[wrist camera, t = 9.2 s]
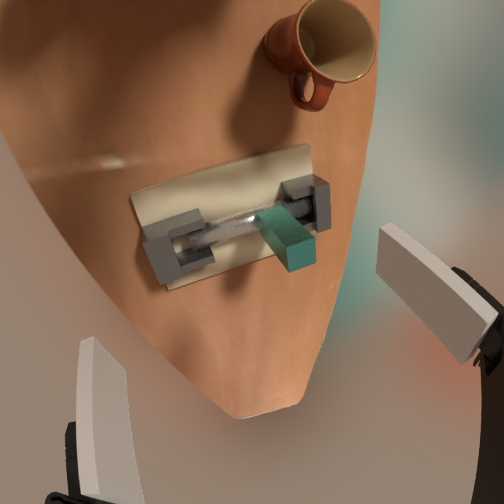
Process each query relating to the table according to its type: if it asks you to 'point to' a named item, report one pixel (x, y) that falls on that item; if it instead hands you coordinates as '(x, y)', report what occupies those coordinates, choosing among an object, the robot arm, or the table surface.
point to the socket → (319, 200)
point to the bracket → (162, 250)
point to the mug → (321, 48)
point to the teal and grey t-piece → (266, 230)
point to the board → (224, 202)
